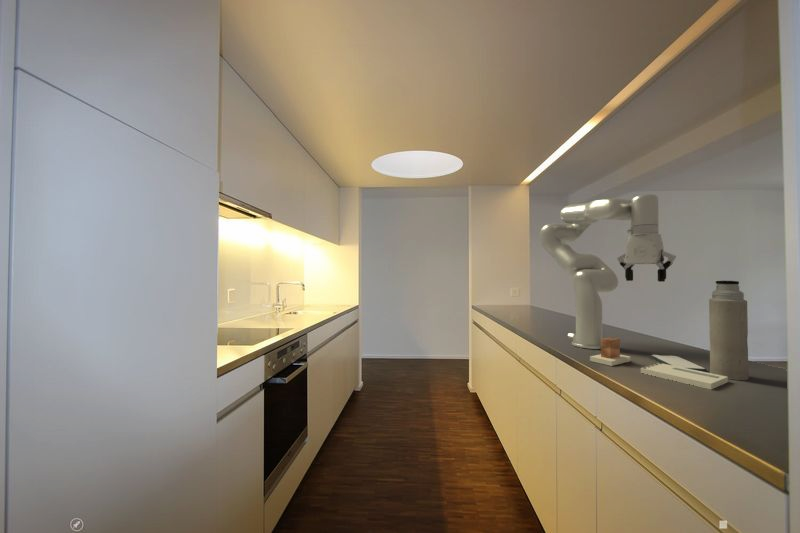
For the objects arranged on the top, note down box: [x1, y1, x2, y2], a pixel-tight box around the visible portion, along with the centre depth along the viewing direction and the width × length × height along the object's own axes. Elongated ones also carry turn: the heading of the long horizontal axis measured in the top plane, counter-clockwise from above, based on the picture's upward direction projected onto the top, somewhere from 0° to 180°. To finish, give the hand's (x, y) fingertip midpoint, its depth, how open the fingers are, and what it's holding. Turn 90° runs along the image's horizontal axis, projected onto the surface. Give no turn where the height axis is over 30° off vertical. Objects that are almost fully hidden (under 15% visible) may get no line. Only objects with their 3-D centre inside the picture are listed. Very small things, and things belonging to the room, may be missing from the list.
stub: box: [589, 337, 632, 367], centre depth 112 cm, size 7×12×8 cm, turn 120°
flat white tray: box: [640, 362, 729, 391], centre depth 95 cm, size 16×12×2 cm
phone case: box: [650, 354, 708, 373], centre depth 109 cm, size 9×2×16 cm
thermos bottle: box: [708, 280, 749, 381], centre depth 97 cm, size 8×8×28 cm
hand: (644, 281), depth 113 cm, fingers open, 9 cm apart
